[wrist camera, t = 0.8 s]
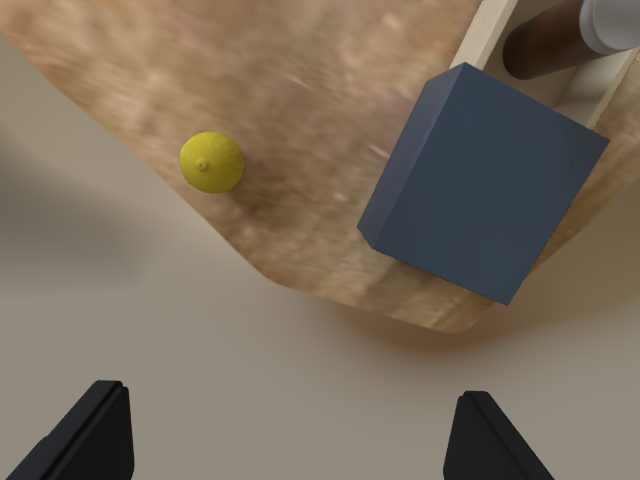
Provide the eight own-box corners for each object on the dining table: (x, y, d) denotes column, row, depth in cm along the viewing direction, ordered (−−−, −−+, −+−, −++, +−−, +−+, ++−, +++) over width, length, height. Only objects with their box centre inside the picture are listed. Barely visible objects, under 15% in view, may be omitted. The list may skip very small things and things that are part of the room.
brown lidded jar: (505, 21, 32) (601, -38, 22) (557, 21, 32) (676, -37, 22) (499, 80, 33) (586, 50, 23) (549, 80, 33) (657, 50, 23)
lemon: (221, 121, 34) (198, 114, 27) (261, 163, 36) (249, 167, 28) (184, 159, 35) (151, 163, 27) (224, 198, 36) (203, 212, 29)
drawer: (533, -122, 30) (597, -196, 23) (649, -45, 32) (737, -94, 25) (426, 99, 34) (455, 87, 28) (534, 154, 36) (585, 156, 30)
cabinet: (426, 81, 34) (464, 60, 26) (542, 141, 37) (611, 140, 29) (356, 227, 38) (371, 248, 30) (466, 274, 40) (507, 306, 32)
